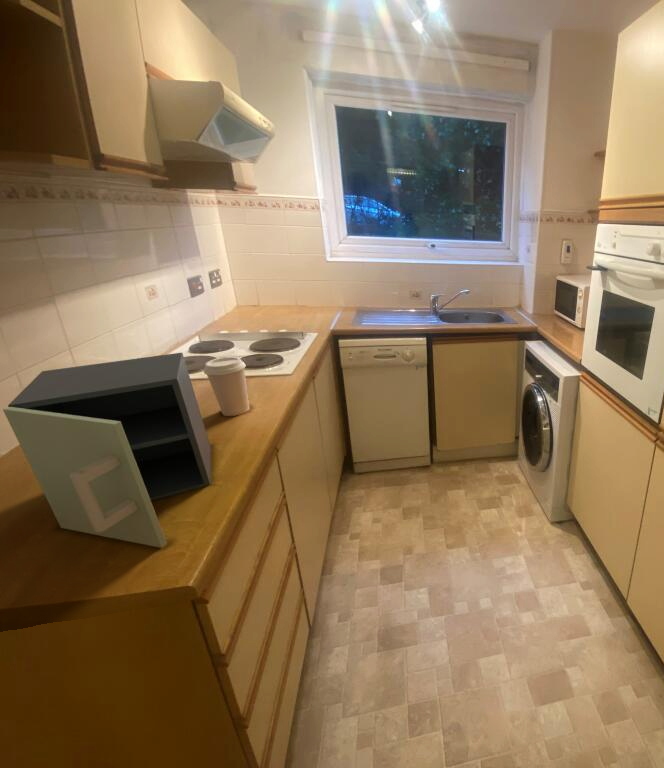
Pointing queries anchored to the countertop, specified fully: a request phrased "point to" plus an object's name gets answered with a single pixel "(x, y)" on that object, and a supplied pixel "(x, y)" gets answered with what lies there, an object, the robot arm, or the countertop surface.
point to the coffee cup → (229, 384)
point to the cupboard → (136, 414)
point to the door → (87, 474)
